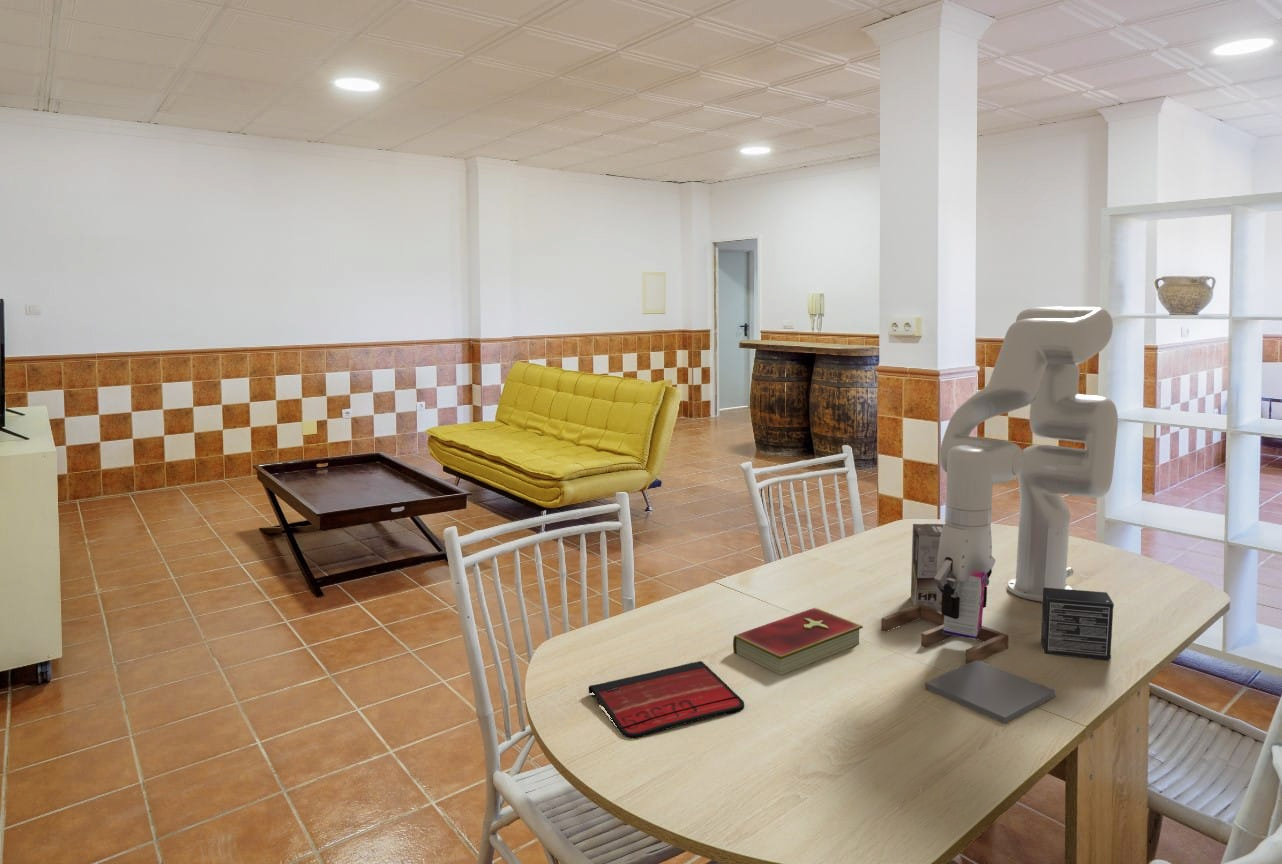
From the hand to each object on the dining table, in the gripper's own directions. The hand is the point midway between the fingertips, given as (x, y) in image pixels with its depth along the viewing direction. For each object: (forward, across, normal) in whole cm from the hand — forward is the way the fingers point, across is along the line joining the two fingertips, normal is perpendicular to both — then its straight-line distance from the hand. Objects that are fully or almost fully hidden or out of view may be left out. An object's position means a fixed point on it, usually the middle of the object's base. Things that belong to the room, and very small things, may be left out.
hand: (963, 610), depth 148 cm
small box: (+8, -15, +12) cm, 21 cm away
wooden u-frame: (+7, 0, -4) cm, 8 cm away
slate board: (+7, +11, +12) cm, 18 cm away
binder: (+8, +54, -16) cm, 57 cm away
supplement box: (+4, 0, 0) cm, 4 cm away
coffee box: (+7, -13, -16) cm, 22 cm away
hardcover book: (+8, +23, -18) cm, 30 cm away
